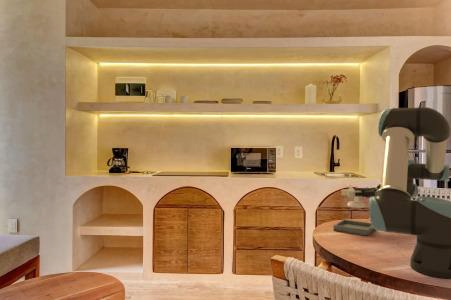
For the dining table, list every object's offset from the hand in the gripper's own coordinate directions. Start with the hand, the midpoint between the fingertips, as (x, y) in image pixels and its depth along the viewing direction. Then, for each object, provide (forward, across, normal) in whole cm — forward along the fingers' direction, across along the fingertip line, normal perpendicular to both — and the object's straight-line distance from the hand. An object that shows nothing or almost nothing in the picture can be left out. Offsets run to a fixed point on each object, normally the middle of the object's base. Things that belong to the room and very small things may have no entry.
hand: (345, 193), depth 160 cm
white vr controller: (-5, -1, -6) cm, 8 cm away
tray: (-5, 0, -18) cm, 18 cm away
